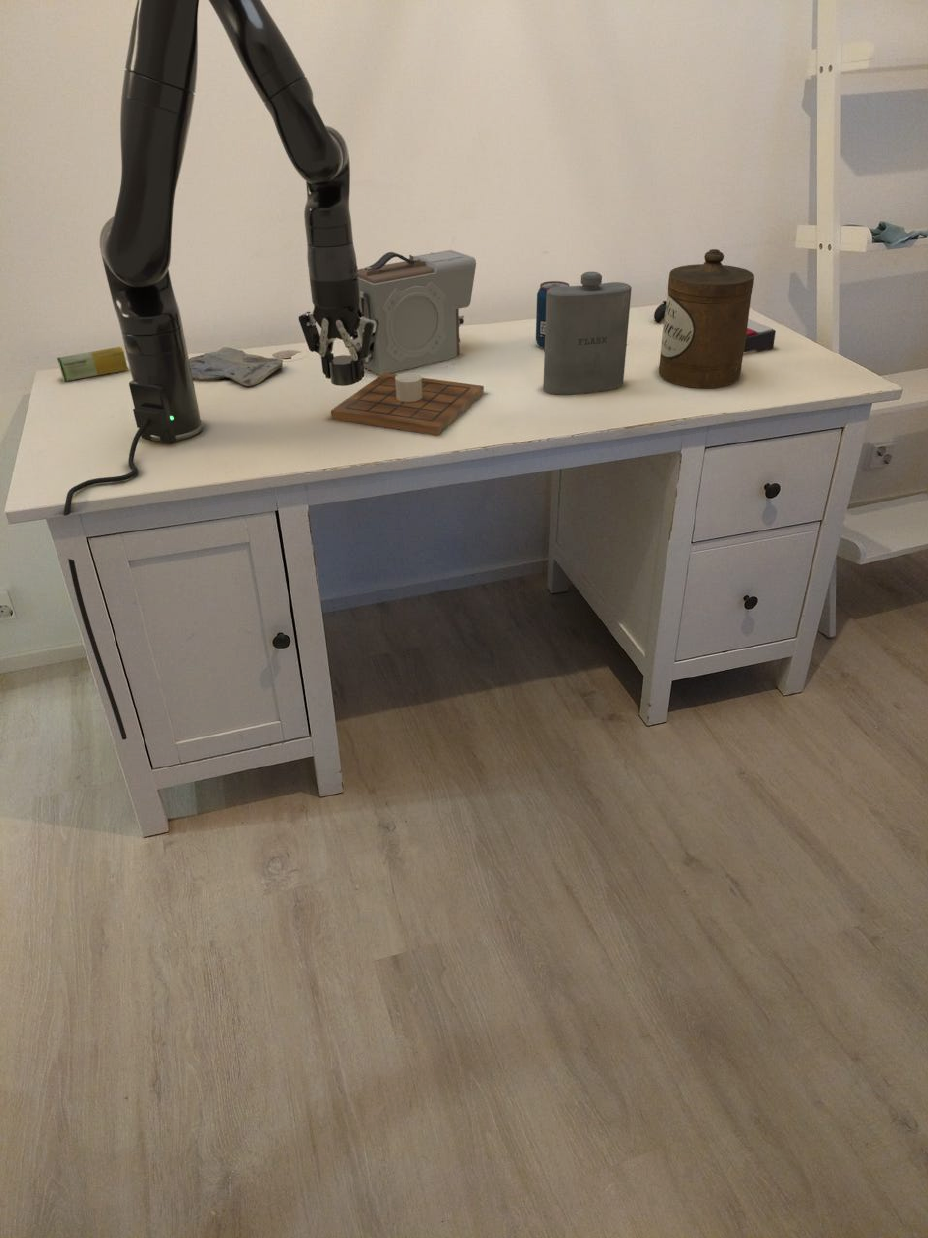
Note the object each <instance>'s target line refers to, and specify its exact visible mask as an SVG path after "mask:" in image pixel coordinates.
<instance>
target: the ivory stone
mask: <svg viewBox="0 0 928 1238" xmlns="http://www.w3.org/2000/svg"><path fill="white" fill-rule="evenodd" d="M422 378H423V377H422V375H421V374H420V373H416V372H403V373H399V374H398V375H397V376H396V377H395V386H396V398H397V400H399V401H402V402H415V401H418V400H420V399H422V397H423V394H422Z"/></svg>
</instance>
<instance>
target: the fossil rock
mask: <svg viewBox="0 0 928 1238" xmlns="http://www.w3.org/2000/svg"><path fill="white" fill-rule="evenodd" d="M189 362H190V367H191V372H192V377H193V381H194V380H200V381H218V380H221V379H227V378H228V379H231V380H232V381H235V382H237V383H238V384H240V385H242V386H244V387H245V386H246V387H253V386H255V385H259V384H260V383H261V382H262V381H264V380H265V379H267V378H268V377H269V376H270V375H272V374H273V373H274V372H276V371H278V370H279V369H280V368H282V367H283V363H284V359H282V358H277V357H276V358H275V357H265V356H262V355H258V354H248V353H246V352H245V351H243V350H241V349H237V348H232V347H228V346H227V347H221V348H220V349H218V350H216V351H211V352H206V353H204V354H200V355H197V356H192V357H189Z"/></svg>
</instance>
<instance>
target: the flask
mask: <svg viewBox="0 0 928 1238" xmlns="http://www.w3.org/2000/svg"><path fill="white" fill-rule="evenodd" d="M602 282H603V275H602V274H601V273H600V272H598V271H585V272H582V274H581V275H580V284H581V285H569V286H559V287H553V288H550V289H548V290H547V297H546V326H545V349H544V359H543V384H542V386H543V390H544V391H545V392H546V393H547V394H551V395H559V396H560V395H561V396H562V395H563V396H564V395H567V396H568V395H583V394H593V393H601V392H608V391H612V390H616V389H620V388H621V387H622V386H623V385H624V379H625V370H626V369H625V367H626V357H627V356H626V355H627V346H628V334H629V332H628V331H629V324H630V323H629V322H630V310H631V300H632V287H633V286H632V285H630V284H628V283H626V282H622V281H621V282H620V281H609V282H603V283H602Z"/></svg>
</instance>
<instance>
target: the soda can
mask: <svg viewBox="0 0 928 1238" xmlns="http://www.w3.org/2000/svg"><path fill="white" fill-rule="evenodd" d="M559 286H570V283H568V282H565V281H559V280H550V281H549V280H548V281H544V282H542V283H540V284H539V289H538V290H537V293H536V313H535V314H536V315H535V316H536V319H535V342H536V343H537V345H538V347H539V348H540V349H543V350H545V326H546V297H547V290H548V289H550V288H553V287H559Z"/></svg>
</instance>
